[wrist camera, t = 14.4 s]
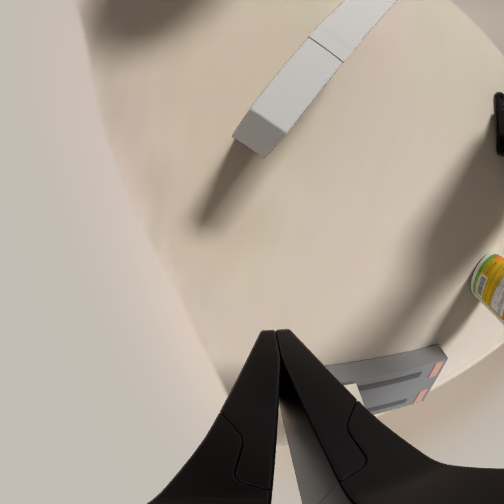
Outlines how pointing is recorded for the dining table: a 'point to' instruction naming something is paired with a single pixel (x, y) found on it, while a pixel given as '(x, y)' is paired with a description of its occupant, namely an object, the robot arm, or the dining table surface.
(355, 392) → the block
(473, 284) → the supplement bottle
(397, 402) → the panel
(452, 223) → the dining table surface
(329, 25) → the light switch
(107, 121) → the dining table surface
